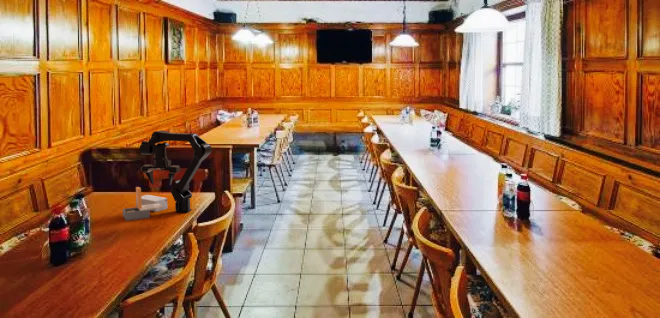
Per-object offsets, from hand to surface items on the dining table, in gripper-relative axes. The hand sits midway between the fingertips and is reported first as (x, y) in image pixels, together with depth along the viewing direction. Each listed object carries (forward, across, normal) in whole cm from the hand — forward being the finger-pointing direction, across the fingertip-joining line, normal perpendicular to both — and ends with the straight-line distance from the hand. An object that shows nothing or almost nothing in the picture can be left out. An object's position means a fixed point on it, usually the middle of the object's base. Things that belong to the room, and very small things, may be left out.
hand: (161, 185), depth 257 cm
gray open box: (+13, +6, +16) cm, 21 cm away
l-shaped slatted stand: (+9, +1, +12) cm, 15 cm away
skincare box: (+10, +13, -5) cm, 17 cm away
